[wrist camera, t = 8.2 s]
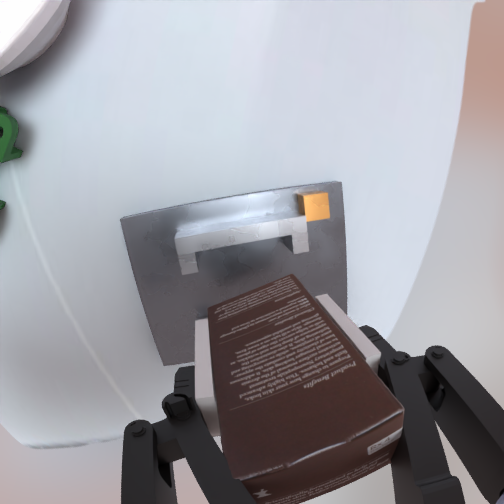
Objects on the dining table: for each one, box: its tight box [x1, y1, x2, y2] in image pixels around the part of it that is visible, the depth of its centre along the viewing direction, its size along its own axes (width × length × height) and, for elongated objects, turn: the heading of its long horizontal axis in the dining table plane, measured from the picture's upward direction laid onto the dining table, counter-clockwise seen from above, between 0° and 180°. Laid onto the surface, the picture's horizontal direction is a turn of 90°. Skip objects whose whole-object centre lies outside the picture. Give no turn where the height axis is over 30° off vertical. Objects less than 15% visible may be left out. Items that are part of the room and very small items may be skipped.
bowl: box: [0, 0, 71, 76], centre depth 11 cm, size 16×16×9 cm
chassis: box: [120, 181, 347, 366], centre depth 24 cm, size 18×14×4 cm
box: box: [207, 274, 405, 504], centre depth 13 cm, size 6×4×12 cm
